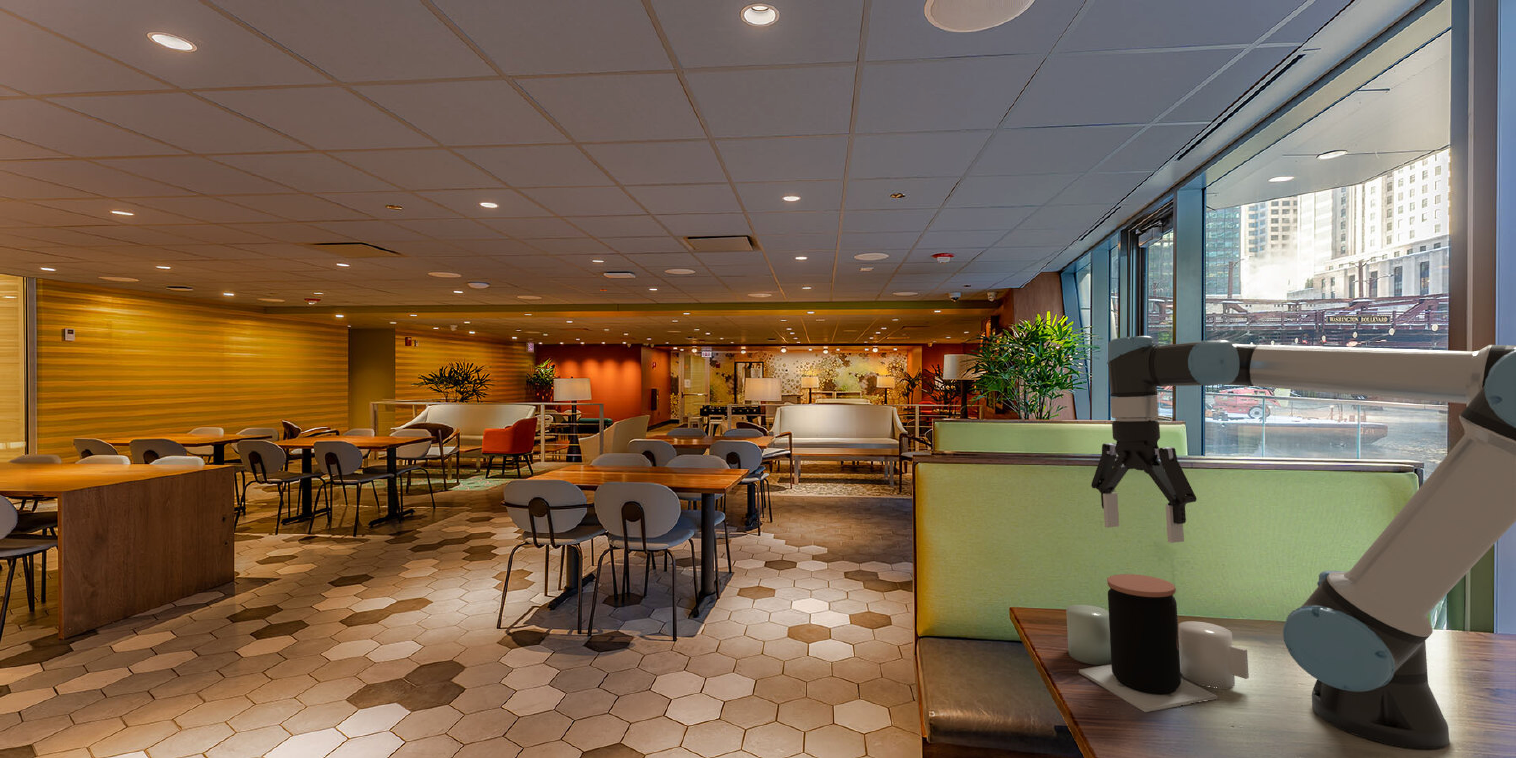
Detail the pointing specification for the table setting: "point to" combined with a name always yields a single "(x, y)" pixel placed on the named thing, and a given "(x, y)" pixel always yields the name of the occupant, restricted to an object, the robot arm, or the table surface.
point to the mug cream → (1210, 655)
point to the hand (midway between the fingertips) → (1142, 533)
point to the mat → (1147, 701)
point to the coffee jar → (1144, 633)
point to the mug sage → (1089, 634)
